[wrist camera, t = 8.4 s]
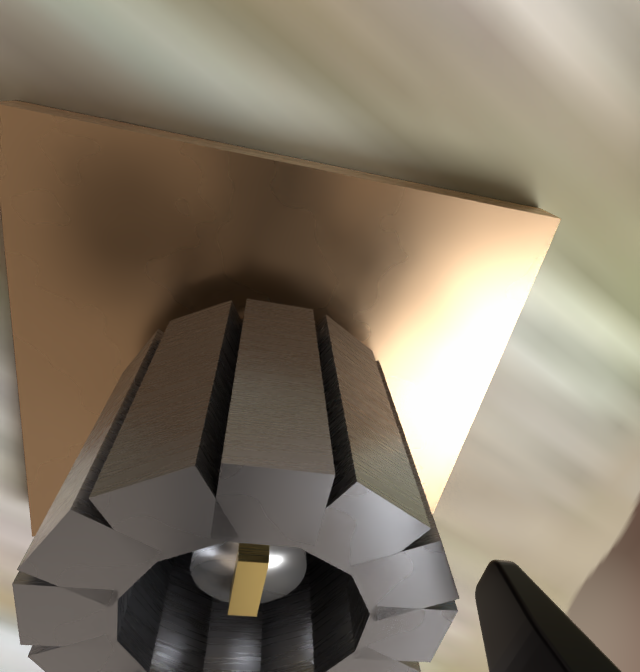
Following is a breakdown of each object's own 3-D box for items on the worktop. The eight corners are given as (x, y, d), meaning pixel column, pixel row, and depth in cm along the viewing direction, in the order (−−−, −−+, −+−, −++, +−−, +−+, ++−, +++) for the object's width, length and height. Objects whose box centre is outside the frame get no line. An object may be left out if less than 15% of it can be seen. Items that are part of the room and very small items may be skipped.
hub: (356, 527, 14) (390, 736, 10) (117, 507, 13) (31, 730, 8) (424, 326, 11) (520, 493, 7) (121, 278, 10) (-7, 439, 6)
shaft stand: (403, 540, 17) (463, 763, 12) (46, 510, 15) (-89, 759, 10) (540, 208, 12) (772, 326, 6) (15, 100, 10) (-324, 130, 4)
